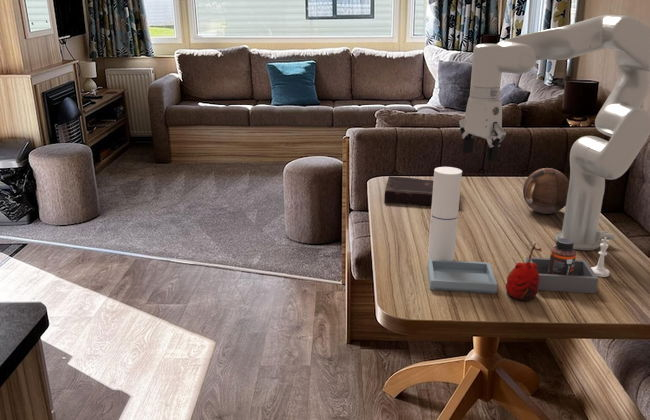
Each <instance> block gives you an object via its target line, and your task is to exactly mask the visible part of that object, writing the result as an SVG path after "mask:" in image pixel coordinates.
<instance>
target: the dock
mask: <svg viewBox="0 0 650 420" xmlns="http://www.w3.org/2000/svg"><path fill="white" fill-rule="evenodd" d="M528 260H529V256H528V257H527V256H526V258H525V263H527V261H528ZM549 261H550V257H531V259H530V263H535V264H536V265H537V270H538V273H539V278H540V280H539V286H538V291H548V292H549V291H551V292H565V293H567V292H568V293H583V294H597V289H598V284H599V276H596V274H595V273H594V271H593V270H592V269H591V266H590V264H589V263H588V262H587V260H585V259H575V264H574V271H573V275H555V274H548V268H549Z"/></svg>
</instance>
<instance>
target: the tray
mask: <svg viewBox="0 0 650 420" xmlns="http://www.w3.org/2000/svg"><path fill="white" fill-rule="evenodd" d="M427 274H428V275H427V276H428V284H429V290H430V291H445V292H461V293H462V292H463V293H475V294H493V295H495V294H496V295H497V294H498V293H497V292H498V283H497V279H496V277H495V273H494V270H493V267H492V264H491V262H489V261H488V262H487V261H485V262H484V261H470V260H469V261H467V260H453V261H452V260H435V259H428V258H427Z"/></svg>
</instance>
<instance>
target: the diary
mask: <svg viewBox="0 0 650 420" xmlns="http://www.w3.org/2000/svg"><path fill="white" fill-rule="evenodd" d="M433 182H434V179H433V180H432V179H421V178H414V177H407V176H393V175H392V176H390V175H389V176H388V178H387V182H386V185H385V189H384V198H383V199H384V200H383V201H384V203H385V204H401V205H402V204H403V205H404V204H405V205H412V206H413V205H415V206H428V207H432V195H433Z"/></svg>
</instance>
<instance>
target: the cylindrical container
mask: <svg viewBox="0 0 650 420" xmlns="http://www.w3.org/2000/svg"><path fill="white" fill-rule="evenodd" d="M462 175H463V170H462V169H460V168H457V167H453V166H439V167H435V168H434V172H433V180H434V182H433V195H432V206H430V207H431V209H430V222H429V235H428V248H427V249H428V250H427V260H428V259H435V260H452V261H455V251H456V242H457V240H456V239H457V230H458V218H459V208H460V196H461V189H462V188H461V185H462V177H463V176H462Z"/></svg>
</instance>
